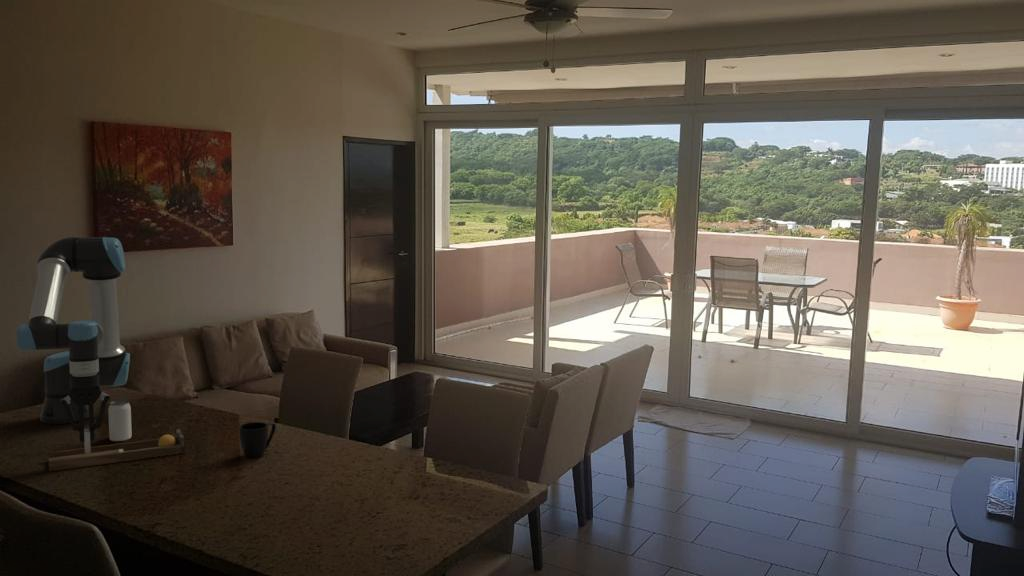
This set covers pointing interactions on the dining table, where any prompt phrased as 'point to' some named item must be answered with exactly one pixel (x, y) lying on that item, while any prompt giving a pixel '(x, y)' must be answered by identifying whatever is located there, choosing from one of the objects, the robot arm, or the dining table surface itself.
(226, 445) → the dining table surface
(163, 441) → the ball
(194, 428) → the dining table surface
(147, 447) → the lane
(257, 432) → the mug
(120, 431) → the can
